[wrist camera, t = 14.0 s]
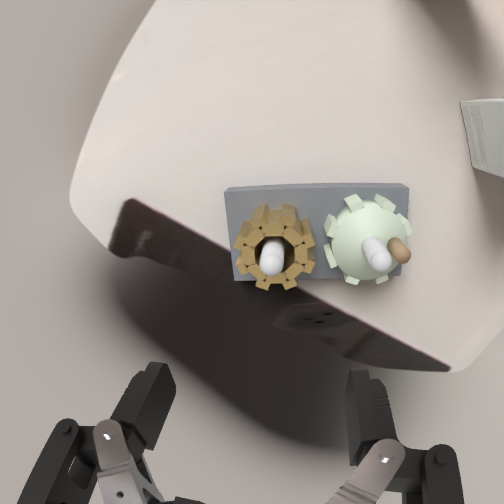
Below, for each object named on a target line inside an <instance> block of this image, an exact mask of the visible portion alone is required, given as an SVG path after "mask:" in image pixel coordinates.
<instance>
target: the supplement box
mask: <svg viewBox="0 0 504 504" xmlns="http://www.w3.org/2000/svg"><path fill="white" fill-rule="evenodd" d="M460 106H461V110H462V114H463V119H464V123H465V128H466V133H467V139H468V144H469V150H470V156H471V162H472V167H473V168H476V169H479V170H482V171H485V172H488V173H490V174H493V175H496V176H499V177H502V178H504V98H485V99H475V100H467V101H460Z"/></svg>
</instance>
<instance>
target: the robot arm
mask: <svg viewBox="0 0 504 504" xmlns="http://www.w3.org/2000/svg"><path fill="white" fill-rule="evenodd" d="M175 395H176V385H175V382H174V380H173V377H172V374H171V372H170V369H169V367H168V365H167V364H166V363H158V362H150V363H149V364H148V366H147V367H146V370H145V371H140V372H138V373H137V374H136V375H135V376H134V377H133V378H132V380H131V382H130V383H129V385H128V388H126V390H125V392H124V394H123V396H122V397H121V400H120V401H119V403H118V405H117V407H116V408H115V410H114V412H113V414H112V416H111V417H110V419H107V420H103V421H101V422H99V423H98V424H97V425H96V426H79V425H78V424H77V422H76V421H75V420H73V419H69V418H68V419H63V420H61V421H59V422H58V423H57V425H56V426H55V428H54V430H53V432H52V434H51V435H50V437H49V439H48V441H47V443H46V444H45V446H44V448H43V450H42V452H41V454H40V456H39V458H38V460H37V462H36V464H35V466H34V468H33V470H32V472H31V474H30V476H29V478H28V480H27V482H26V484H25V486H24V489H23V491H22V493H21V495H20V498H19V500H18V502H17V504H88V503H89V500H90V498H91V495H92V493H93V490H94V487H95V485H96V482H97V480H98V482H99V486H100V489H101V493H102V497H103V500H104V503H105V504H205V503H202V502H200V501H194V500H190V499H185V498H181V497H175V500H174V501H166V502H165V500H164V498H163V496H162V495H161V493H160V492H159V490H158V489H157V487H156V485H155V483H154V481H153V478H152V476H151V473H150V471H149V468H148V466H147V463H146V461H145V458H144V456H143V452H144V449H148V450H154V447H155V444H156V442H157V439H158V437H159V435H160V432H161V430H162V427H163V425H164V422H165V420H166V417H167V415H168V412H169V410H170V407H171V405H172V402H173V400H174V397H175ZM344 401H345V412H346V422H347V432H348V445H349V459H350V466H355V465H357V468H356V470H355V471H354V472H353V473H352V475H351V476H350V477H349V478H348V480H347V481H346V482H345V483H344V484H343V486H341V487H340V488H339V489H338V490H337V491H336V492H335V493H334V495H333V496H332V497H331V498H330V499H329V500H328V501H327V502H326V503H325V504H376V502H377V500H378V499H379V497H380V496H381V494H382V493H383V492H384V491H393V492H402V504H464V498H463V490H462V484H461V477H460V472H459V466H458V461H457V456H456V453H455V451H454V450H453V449H452V448H451V447H450V446H448V445H445V444H439V445H435V446H433V447H432V448H430V449H429V450H417V449H410V448H407V447H405V446H404V445H402V444H401V443H400V442H399V440H398V438H397V436H396V432H395V427H394V422H393V417H392V413H391V408H390V404H389V400H388V395H387V391H386V388H385V386H384V385H383V384H382V383H381V381H380V380H379V379H370V378H369V372H368V369H367V368H359V369H358V368H357V369H350V370H349V374H348V379H347V384H346V388H345V399H344ZM74 457H75V459H74ZM73 459H74V461H73ZM72 461H73V464H72ZM71 464H72V466H71ZM70 466H71V468H70ZM69 468H70V470H69ZM68 470H69V472H68Z"/></svg>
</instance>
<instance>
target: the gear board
mask: <svg viewBox="0 0 504 504" xmlns="http://www.w3.org/2000/svg"><path fill="white" fill-rule="evenodd" d="M224 197H225V206H226V214H227V223H228V231H229V240H230V248H231V256H232V264H233V272H234V280H235V281H251V280H257V278H256V277H254V276H253V275H252V274H251V273H246V274H244V275H241V273H240V272H239V270H238V268H237V266H236V265H235V264H236V262H237V259H238V256H239V254H240V251H241V250H239V249H236V248H233V247H234V244H235V241H236V238H237V235H238V233H239V231H240V228H241V226H242V224H243V222H244V220H246V221H249V222H250V219H251V217H252V215H253V212H254V210H255V208H256V207H259V206H261V205H263V204H265V203H266V204H267V205H268V207H269V209H270V210H281V207H282V204H283V202H284V203H287V204H290V205H292V206H295V215H296V217H297V218H298V219H299V220H303V219H305V218H308V220H309V222H310V225H311V227H312V230H313V235H314V240H315V246H313V251H314V257H315V265H314V267H313V269H312V271H311V273H310V274H309V273H306V272H303V271H302V272H301V273H300V274H299V275H297V280H300V279H333V278H345V281H346V282H348V283H351V284H354V285H358V283H359V281H360V280H373V279H375V281H376V283H377V284H380V283H382V282H384V281H387V280H389V279H388V276H400V274H401V267H402V265H405V263H407V262H408V261H409V260H410V257H411V252H410V250H409V249H408V248H407V247H406V241H407V238H406V236H409V235H411V234H413V233H412V229H411V226H410V222H409V221H408V220H407V214H408V200H409V188H408V187H406V186H405V185H403V184H392V183H318V184H286V185H264V186H247V187H232V188H228V189H227V190H226V191H225V192H224ZM260 244H261V245H262V246H263V249H262V254H261V258H260V263H259V266H260V269H261V271H262V272H263V273H264V274H265V275H267V276H276V275H278V274H279V273H280V272H281V271H282V269H283V264H284V253H285V252H286V251H287V250H288V249H289V248H290V247H291V246H292V244H291V243H290V242H288V241H287V240H286V239H285V238H284V237H283V236H266V237H264V238H263V239H262V240H261V241H260Z"/></svg>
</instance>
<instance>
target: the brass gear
mask: <svg viewBox="0 0 504 504" xmlns="http://www.w3.org/2000/svg"><path fill="white" fill-rule="evenodd" d="M266 236H283V237H284V238H285V239H286V240H287V241H288V242H290V243H291V244H292V246H291V247H290V248H289V249H288V250H287V251H286V252H285V253H284V264H283V269H282V271H281V272H280V273H279V274H278V275H276V276H267V275H265V274H264V273H263V272H262V271H261V269H260V266H259V263H260V258H261V254H262V249H263V246H262V245H261V244H260V241H261V240H262V239H263V238H264V237H266ZM313 246H315V240H314V235H313V230H312V227H311V225H310V222H309V220H308V218H305V219H303V220H299V219H298V218H297V217H296V215H295V206H292V205H290V204H287V203H284V202H283V204H282V207H281V210H270V209H269V207H268V205H267V204H266V203H265V204H263V205H261V206H259V207H256V208H255V210H254V212H253V215H252V217H251V219H250V222H249V221H246V220H244V222H243V224H242V226H241V228H240V231H239V233H238V235H237V238H236V241H235V244H234V247H233V248H236V249H239V250H241V251H240V254H239V256H238V259H237V262H236V264H235V265H236V266H237V268H238V270H239V272H240V273H241V275H244V274H246V273H251V274H252V275H253V276H254V277H256V278H257V281H256V287H259V288H262V289H265V290H268V288H269V286H270V284H272V283H282V284H283V286H284V288H285V290H287V289H289V288H292V287H295V286H297V275H299V274H300V273H301V272H302V271H303V272H306V273H309V274H310V273H311V271H312V269H313V267H314V265H315V257H314V251H313Z"/></svg>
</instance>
